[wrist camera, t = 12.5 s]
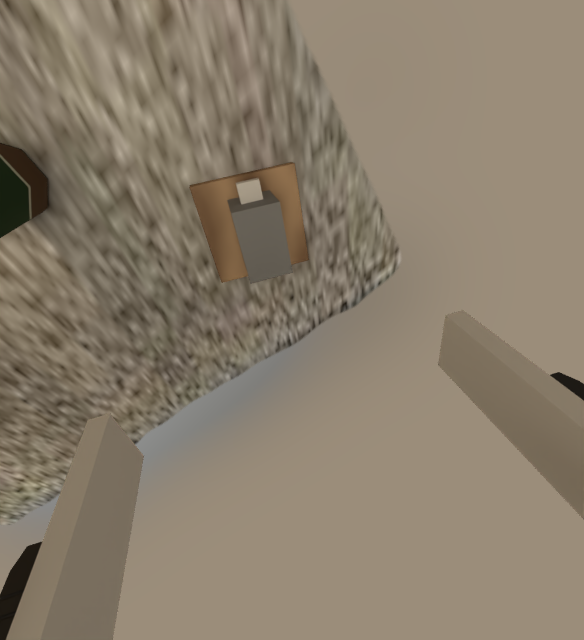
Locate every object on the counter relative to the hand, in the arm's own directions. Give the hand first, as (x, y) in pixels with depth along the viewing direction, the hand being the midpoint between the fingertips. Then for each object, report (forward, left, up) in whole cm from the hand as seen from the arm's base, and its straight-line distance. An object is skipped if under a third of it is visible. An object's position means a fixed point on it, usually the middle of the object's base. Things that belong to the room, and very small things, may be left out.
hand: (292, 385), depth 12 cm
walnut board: (+2, -3, -31) cm, 31 cm away
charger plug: (+2, -3, -29) cm, 30 cm away
